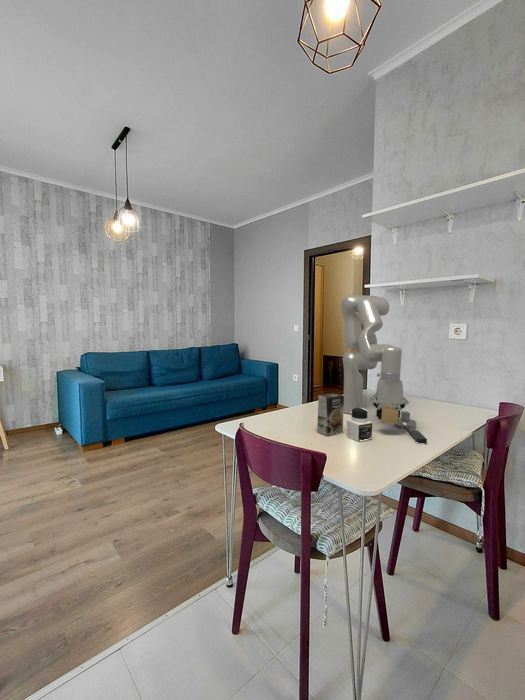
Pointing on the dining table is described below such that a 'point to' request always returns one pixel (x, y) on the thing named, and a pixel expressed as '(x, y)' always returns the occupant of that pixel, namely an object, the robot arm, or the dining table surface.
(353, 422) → the medicine bottle
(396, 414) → the brass-coloured cube
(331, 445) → the dining table surface
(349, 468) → the dining table surface
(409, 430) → the ratchet
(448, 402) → the dining table surface
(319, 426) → the coffee box
